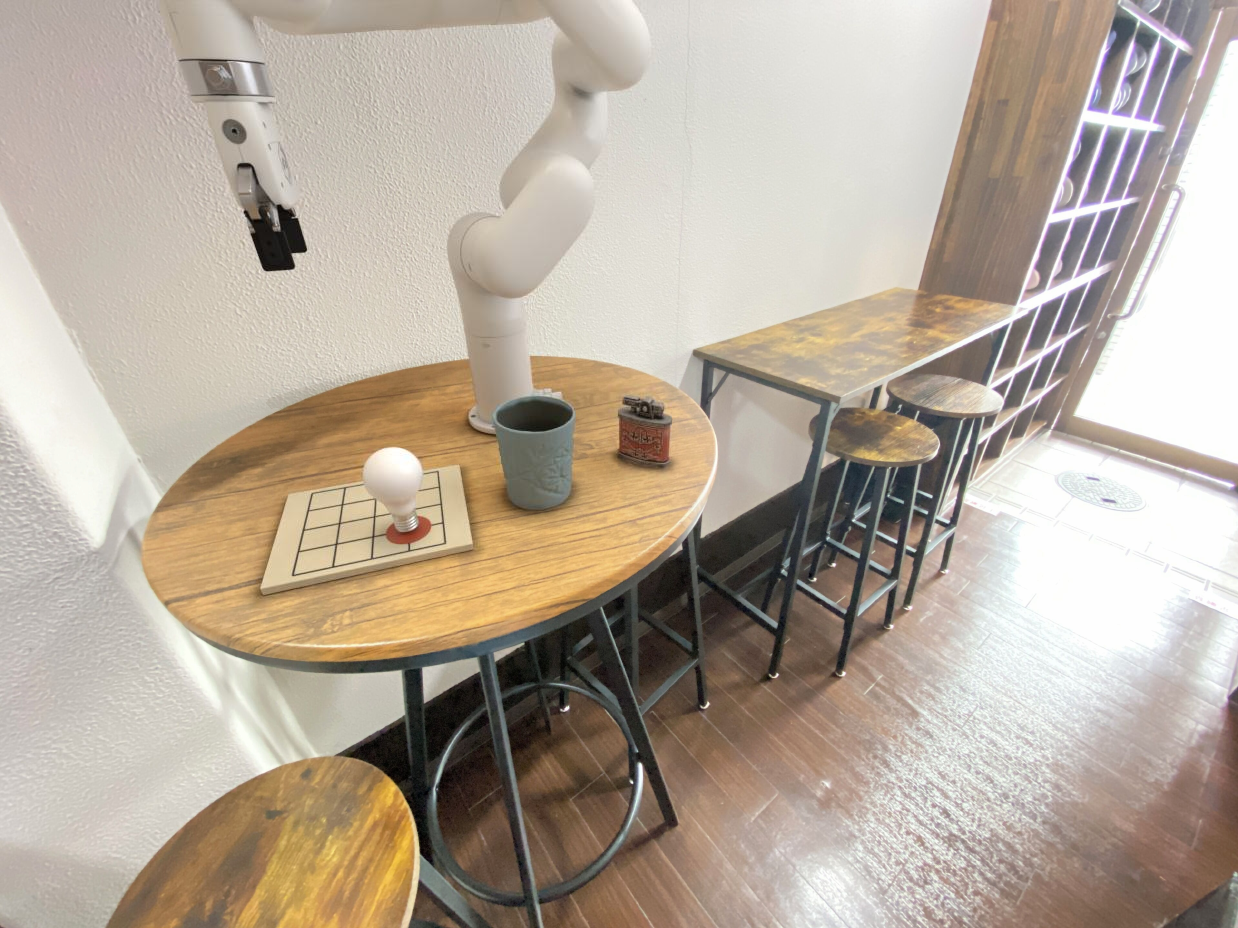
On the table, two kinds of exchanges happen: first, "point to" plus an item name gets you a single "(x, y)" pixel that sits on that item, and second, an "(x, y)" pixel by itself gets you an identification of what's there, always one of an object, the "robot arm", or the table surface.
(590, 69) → the robot arm
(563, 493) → the grey green cup
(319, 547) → the board
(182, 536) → the table surface
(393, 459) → the lightbulb
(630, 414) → the lighter
